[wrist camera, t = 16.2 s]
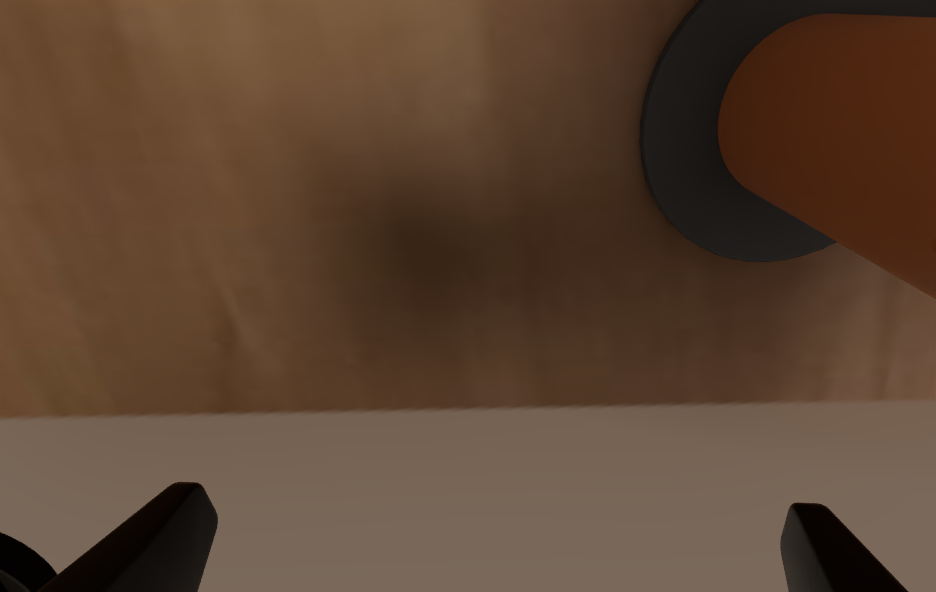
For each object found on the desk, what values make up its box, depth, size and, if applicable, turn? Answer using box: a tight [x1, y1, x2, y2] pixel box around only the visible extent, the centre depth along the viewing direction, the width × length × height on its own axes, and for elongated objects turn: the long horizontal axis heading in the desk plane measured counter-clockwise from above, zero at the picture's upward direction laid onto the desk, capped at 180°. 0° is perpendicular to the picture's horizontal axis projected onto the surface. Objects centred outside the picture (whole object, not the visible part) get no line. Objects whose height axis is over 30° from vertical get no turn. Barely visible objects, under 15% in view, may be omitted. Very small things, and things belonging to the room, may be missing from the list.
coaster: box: [640, 0, 936, 262], centre depth 18 cm, size 9×9×1 cm
